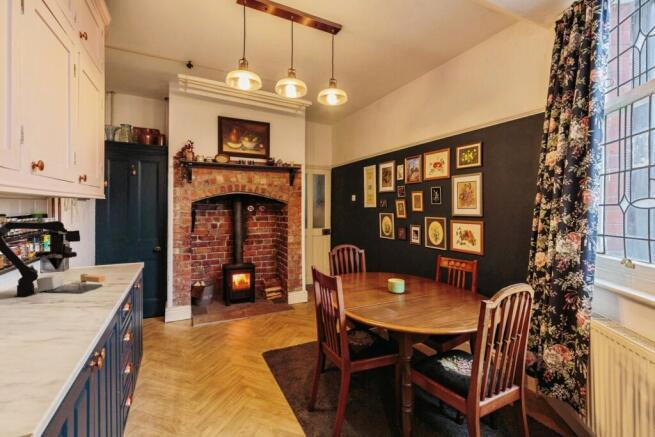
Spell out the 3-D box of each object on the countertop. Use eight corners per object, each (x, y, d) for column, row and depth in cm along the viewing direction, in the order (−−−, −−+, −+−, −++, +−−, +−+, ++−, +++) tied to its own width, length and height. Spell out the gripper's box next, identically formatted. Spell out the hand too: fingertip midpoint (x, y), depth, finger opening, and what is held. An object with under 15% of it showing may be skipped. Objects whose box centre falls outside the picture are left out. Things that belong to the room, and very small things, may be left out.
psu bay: (82, 293, 171) (82, 286, 170) (46, 292, 170) (46, 285, 170) (102, 286, 187) (102, 279, 186) (70, 285, 186) (70, 279, 186)
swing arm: (78, 280, 183) (78, 275, 183) (85, 278, 187) (85, 273, 186) (98, 282, 179) (98, 277, 179) (105, 281, 183) (105, 275, 183)
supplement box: (47, 275, 181) (36, 278, 169) (62, 273, 183) (52, 276, 172) (48, 287, 181) (37, 291, 169) (64, 285, 183) (54, 289, 172)
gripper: (84, 241, 181) (84, 266, 181) (53, 240, 180) (52, 266, 181) (68, 243, 169) (68, 270, 170) (35, 242, 169) (35, 269, 169)
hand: (56, 269), depth 173 cm, fingers closed
